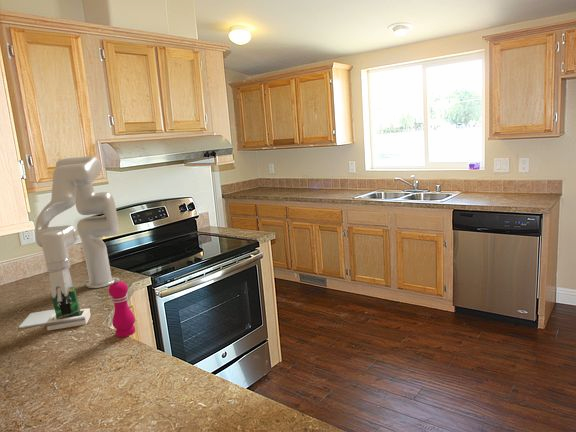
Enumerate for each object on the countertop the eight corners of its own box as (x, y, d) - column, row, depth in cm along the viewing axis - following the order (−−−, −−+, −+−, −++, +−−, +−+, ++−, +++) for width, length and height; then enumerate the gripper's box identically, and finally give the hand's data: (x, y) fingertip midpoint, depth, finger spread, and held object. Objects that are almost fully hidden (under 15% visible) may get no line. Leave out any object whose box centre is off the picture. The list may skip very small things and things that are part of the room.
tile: (30, 314, 172) (30, 313, 172) (60, 309, 174) (60, 308, 174) (18, 328, 160) (18, 327, 159) (51, 323, 162) (51, 321, 162)
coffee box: (57, 325, 159) (49, 292, 156) (58, 322, 162) (51, 289, 159) (80, 321, 161) (74, 288, 158) (82, 318, 164) (75, 285, 161)
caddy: (53, 321, 163) (52, 314, 163) (90, 315, 166) (89, 308, 166) (46, 331, 155) (45, 324, 154) (85, 325, 158) (84, 317, 157)
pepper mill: (129, 338, 144) (119, 281, 140) (110, 338, 146) (100, 281, 142) (141, 328, 151) (131, 274, 147) (122, 328, 153) (112, 274, 149)
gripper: (53, 259, 163) (62, 305, 167) (39, 273, 148) (50, 323, 152) (74, 256, 165) (83, 301, 169) (63, 270, 149) (73, 319, 153)
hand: (67, 311), depth 160 cm, fingers closed on coffee box, 3 cm apart
